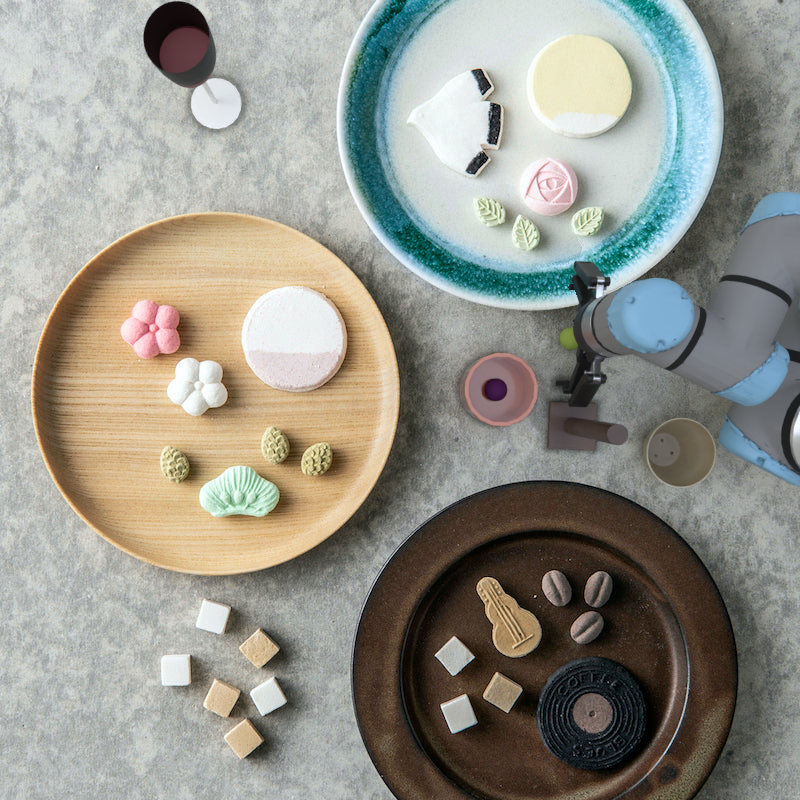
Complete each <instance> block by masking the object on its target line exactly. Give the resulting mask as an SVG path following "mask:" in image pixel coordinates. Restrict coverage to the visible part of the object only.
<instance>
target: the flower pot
mask: <svg viewBox="0 0 800 800" xmlns="http://www.w3.org/2000/svg"><path fill="white" fill-rule="evenodd" d="M642 457H643V461H644V464H645V466H646V468H647V469H648V471H649V472H650V473H651V475H652V476H653V477H654V478H655V479H656V480H657V481H658V482H660V483H662V484H663V485H665V486H668V487H671V488H674V489H689V488H692V487H695V486H697V485H699V484H701V483H703V482H704V481H705V480H706V479H707V478H708V477H709V476H710V474H711V473H712V472H713V469H714V467H715V464H716V460H717V445H716V441H715V439H714V436H713V435H712V433H711V431H710V430H709V429H708V428H707V427H706V426H705V425H704V424H702V423H701V422H699V421H697V420H696V419H692V418H689V417H675V418H669V419H668V420H665V421H661V423H659V424H657V425H655V427H653V428H652V429H651V430H650V431H649V433H648V434H647V435H646V436H645V439H644V442H643V445H642Z"/></svg>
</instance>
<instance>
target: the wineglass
mask: <svg viewBox="0 0 800 800" xmlns="http://www.w3.org/2000/svg"><path fill="white" fill-rule="evenodd" d="M142 42H143V48H144V51H145V53H146V56H147V57H148V59H149V60H150V61H151V63H152V64H153V66H154V67H155V68H156V69H157V70H158V71H159V72H160V73H161V75H163V76H164V77H165V78H167V79H168V80H170V82H172V83H174V84H175V85H177V86H179V87H182V88H184V89H185V88H187V89H194V91H193V93H192V95H191V99H190V108H191V111H192V115H193V116H194V118H195V119H196V121H197V122H198V123H200V124H201V125H202V126H204V127H206V128H208V129H212V130H213V129H214V130H220V129H225V128H227V127H229V126H231V125H232V124H234V122H235V121H236V120H237V119H238V117H240V113H241V111H242V101H243V100H242V97H241V93H240V92H239V90H238V89H237V87H236V85H234V84H233V83H231V82H230V81H229V80H226V79H224V78H220V77H219V78H216V77H213V78H211V76H212V75H213V73H214V70H215V67H216V64H217V49H216V44H215V40H214V36H213V34H212V30H211V28H210V26H209V23H208V21H207V19H206V16H205V15H204V14H203V12H201V10H200V9H199V8H198V7H196V6H195V5H193V4H191V3H190V2H186V1H182V0H173V1H168V2H165V3H163V4H161V5H159V6H158V7H157V8H156V9H154V10H153V12H151V14H150V16H149V17H148V18H147V21H146V22H145V25H144V28H143V34H142Z"/></svg>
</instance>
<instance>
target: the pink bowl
mask: <svg viewBox="0 0 800 800" xmlns="http://www.w3.org/2000/svg"><path fill="white" fill-rule="evenodd" d="M494 378H498V379H501V380H503V381H504V382H505V383H506V385H507V394H506V396H505V397H504V398H503V399H502V400H500V401H492V400H490V399H488V398H487V397H486V395H485V392H484V387H485V385H486V383H487V382H488V381H489V380H491V379H494ZM458 389H459V398H460V401H461V403H462V407H463V408H464V409H465V410H466V412H467V414H469V415H470V416H471V417H472V418H473V419H475V420H477V421H479V422H481V423H483V424H487V425H490V426H491V427H509V426H512V425H514V424H517V423H520V422H522V421H523V420H524V419H525V418H526V417H528V416H529V414H531V413H532V412H533V410H534V407H535V405H536V403H537V400H538V398H539V382H538V380H537V376H536V374H535V371H534V369H533V368H532V367H531V366H530V365H529V363H527V361H526V360H525V359H523V358H522V357H519V356H517V355H515V354H513V353H510V352H494V353H490V354H488V355H485V356H483V357H482V356H481V357H479V358H477V359H474V361H473V362H471V363H470V365H468V366H467V368H466V369H465V370H464V372H463V374H462V376H461V379H460V381H459V388H458Z"/></svg>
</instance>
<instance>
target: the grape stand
mask: <svg viewBox="0 0 800 800" xmlns="http://www.w3.org/2000/svg"><path fill="white" fill-rule="evenodd" d="M597 414H598V403H591V402H590V403H589V405H588V406H587V407H569V405H568V401H567V402H565V401H548V421H547V443H546V445H547V446H546V447H547V449H551V450H577V451H596V442H601V443H604V444H608V445H612V446H622V445H624V444H625V443H626V442H627V441H628V439H629V431H628V429H627V427H626V426H625V425H623V424H622V423H615V422H608V421H602V420H597Z"/></svg>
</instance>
